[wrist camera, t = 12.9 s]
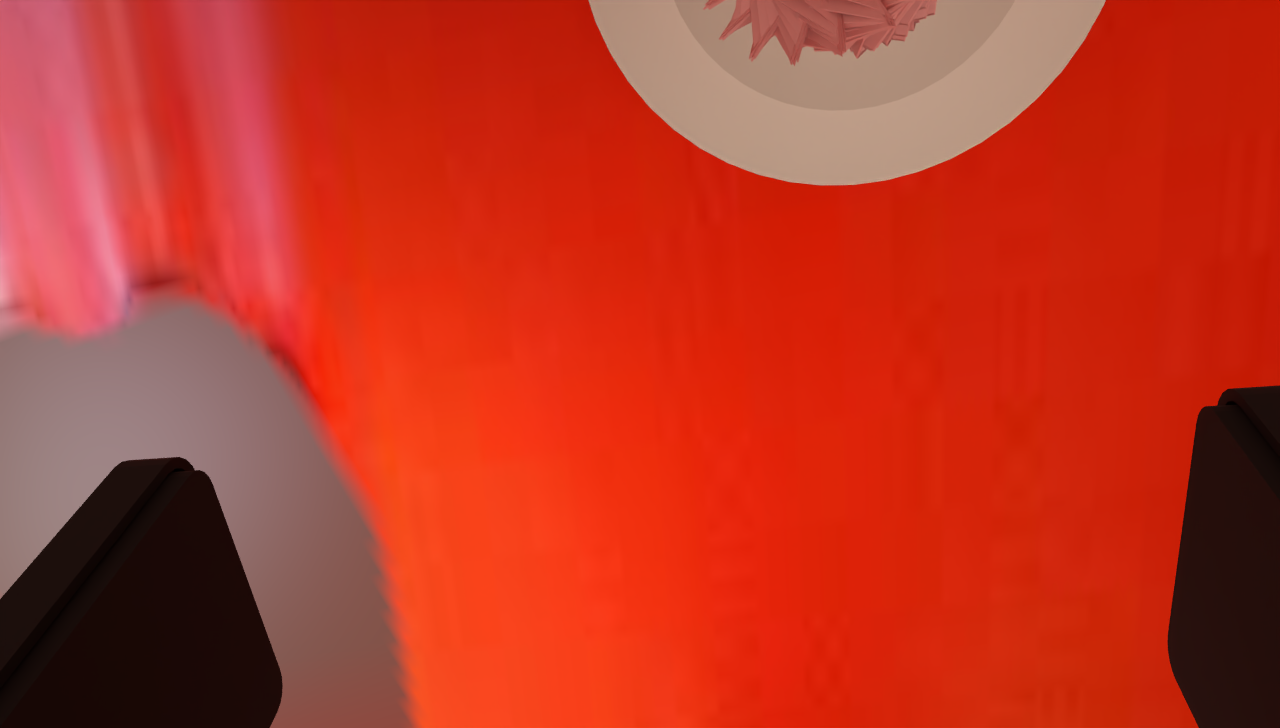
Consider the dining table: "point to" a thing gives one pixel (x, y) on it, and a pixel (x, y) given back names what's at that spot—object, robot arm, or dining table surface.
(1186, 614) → the robot arm
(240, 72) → the dining table surface
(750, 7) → the flower
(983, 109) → the plate
